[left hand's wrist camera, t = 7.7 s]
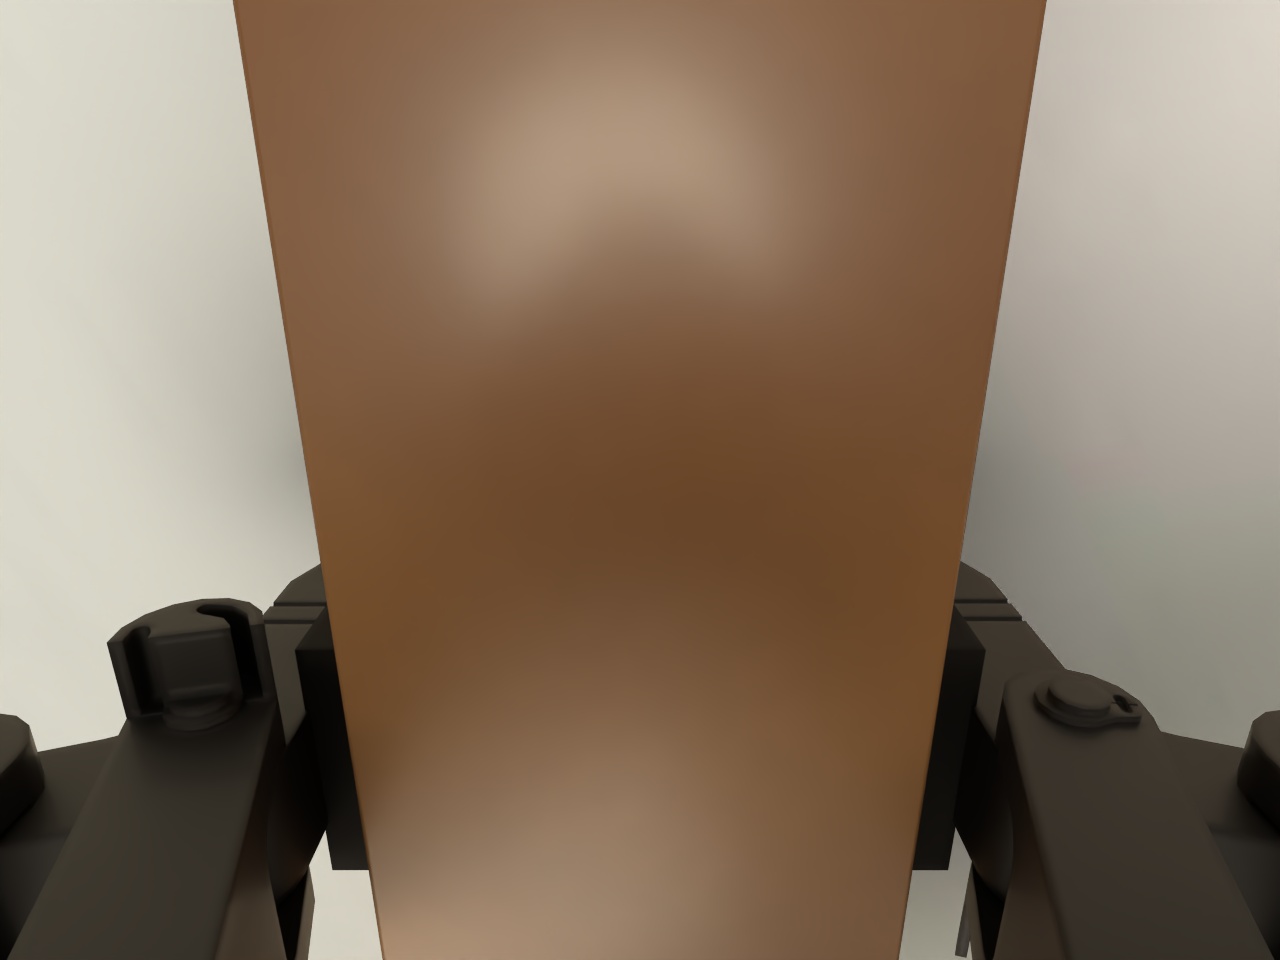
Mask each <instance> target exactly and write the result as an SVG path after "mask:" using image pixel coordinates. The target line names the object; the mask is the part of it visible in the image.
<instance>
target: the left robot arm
mask: <svg viewBox="0 0 1280 960" xmlns="http://www.w3.org/2000/svg"><path fill="white" fill-rule="evenodd" d="M107 646H108V649H109V653H110V657H111V661H112V665H113V668H114V672H115V676H116V680H117V683H118V687H119V691H120V695H121V699H122V702H123V706H124V710H125V714H126V717H127V719H126V721H125V723H124V725H123V727H122V729H121V731H120V733H119V735H118V736H115V737H111V738H107V739H102V740H97V741H92V742H87V743H82V744H77V745H72V746H66V747H61V748H56V749H51V750H46V751H41V752H37V749H36V746H35V742H34V739H33V736H32V733H31V730H30V727H29V725H28V724H27V723H25V722H24V721H23V720H21V719H20V718H19V717H17V716H14V715H6V714H0V960H308V953H309V945H310V937H311V929H312V920H313V912H314V904H315V898H314V891H313V885H312V879H311V874H310V868H309V864H310V862H311V860H312V858H313V855H314V853H315V851H316V849H317V847H318V845H319V843H320V840H321V838H322V836H323V834H324V832H325V830H326V835H327V841H328V847H329V853H330V858H331V864H332V870H369V868H368V862H367V855H366V849H365V843H364V836H363V830H362V823H361V817H360V811H359V804H358V798H357V791H356V785H355V779H354V772H353V766H352V759H351V753H350V747H349V740H348V734H347V727H346V721H345V715H344V708H343V702H342V695H341V689H340V683H339V676H338V670H337V663H336V657H335V651H334V644H333V638H332V631H331V625H330V619H329V612H328V606H327V600H326V593H325V587H324V580H323V574H322V568H321V564H319V565H317V566H316V567H314V568H312V569H311V570H309V571H307V572H306V573H304V574H302V575H301V576H299V577H297V578H296V579H294V580H292V581H291V582H290V583H289V584H288V586H287V587H286V588H285V589H284V590H283V592H282V593H281V594H280V595H279V596H278V598H277V599H276V600H275V601H274V606H270V607H269V609H268V610H267V611H266V612H265V613H264V615H263V614H262V611H261V610H260V609H258V608H257V607H255V606H254V605H253V604H251V603H250V602H245V601H240V600H235V599H230V598H219V599H200V600H194V601H189V602H184V603H179V604H174V605H171V606H168V607H165V608H162V609H159V610H157V611H154V612H151V613H148V614H145V615H143V616H142V617H140V618H138V619H136V620H135V621H133V622H131V623H129V624H127V625H126V626H124V627H122V628H121V629H120V630H119V631H118V632H117V633H116V634H115V635H114V636H113V637H112V638H111V639H110V640H109V641H108V642H107ZM955 827H956V829H957V831H958V833H959V835H960V837H961V839H962V841H963V843H964V846H965V848H966V850H967V852H968V854H969V856H970V858H971V860H972V863H971V868H970V874H969V879H968V884H967V890H966V895H965V901H964V906H963V911H962V917H961V922H960V928H959V933H958V939H957V945H956V952H955V955H956V956H961V957H967V952H968V947H969V942H970V943H971V951H972V959H973V960H1280V710H1278V711H1270V712H1265V713H1264V714H1262V715H1261V716H1260V717H1258V718H1257V719H1255V720H1254V721H1253V723H1252V726H1251V729H1250V732H1249V735H1248V739H1247V742H1246V745H1245V748H1239V747H1234V746H1229V745H1223V744H1218V743H1213V742H1208V741H1203V740H1197V739H1192V738H1187V737H1182V736H1177V735H1173V734H1169V733H1165V732H1161V731H1160V730H1159V728H1158V726H1157V724H1156V722H1155V720H1154V718H1153V717H1152V715H1151V714H1150V713H1149V712H1148V710H1147V709H1146V708H1145V707H1144V706H1143V704H1142V703H1141V702H1140V701H1139V700H1137V699H1136V698H1134V697H1133V696H1131V695H1130V694H1128V693H1127V692H1125V691H1124V690H1123V689H1121V688H1120V687H1118V686H1116V685H1113V684H1111V683H1109V682H1106V681H1104V680H1101V679H1099V678H1097V677H1094V676H1092V675H1088V674H1084V673H1079V672H1075V671H1070V670H1066V669H1065V668H1064V667H1063V666H1062V664H1061V663H1060V662H1059V661H1058V660H1057V658H1056V657H1055V656H1054V655H1053V654H1052V652H1051V651H1050V650H1049V649H1048V648H1047V646H1046V645H1045V644H1044V643H1043V642H1042V640H1041V639H1040V638H1039V637H1038V636H1037V634H1036V633H1035V632H1034V631H1033V630H1032V628H1031V627H1030V626H1029V625H1028V624H1027V622H1026V621H1022V616H1021V615H1020V614H1019V613H1018V612H1017V610H1016V609H1015V608H1014V607H1013V606H1012V604H1008V602H1007V598H1006V597H1005V596H1004V595H1003V594H1002V592H1001V591H1000V590H999V589H998V587H997V586H996V585H995V584H994V583H993V581H992V580H991V579H990V578H988V577H987V576H985V575H983V574H981V573H980V572H978V571H976V570H975V569H973V568H971V567H970V566H968V565H966V564H965V563H963V562H961V561H960V565H959V571H958V577H957V584H956V590H955V597H954V603H953V610H952V616H951V623H950V629H949V636H948V642H947V649H946V655H945V662H944V668H943V675H942V681H941V688H940V694H939V701H938V707H937V714H936V720H935V726H934V733H933V739H932V746H931V752H930V759H929V765H928V772H927V778H926V785H925V791H924V798H923V804H922V811H921V817H920V824H919V830H918V837H917V843H916V850H915V856H914V863H913V869H912V870H948V867H949V862H950V856H951V850H952V844H953V838H954V833H955Z"/></svg>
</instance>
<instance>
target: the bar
mask: <svg viewBox="0 0 1280 960" xmlns="http://www.w3.org/2000/svg"><path fill="white" fill-rule="evenodd" d="M1046 1H1047V0H233V5H234V11H235V17H236V24H237V30H238V37H239V43H240V49H241V56H242V62H243V69H244V75H245V81H246V88H247V94H248V101H249V107H250V113H251V120H252V126H253V132H254V139H255V145H256V152H257V158H258V164H259V171H260V177H261V184H262V190H263V196H264V203H265V209H266V216H267V222H268V228H269V235H270V241H271V248H272V254H273V260H274V267H275V273H276V280H277V286H278V292H279V299H280V305H281V312H282V318H283V324H284V331H285V337H286V344H287V350H288V356H289V363H290V369H291V376H292V382H293V388H294V395H295V401H296V408H297V414H298V420H299V427H300V433H301V440H302V446H303V452H304V459H305V465H306V472H307V478H308V484H309V491H310V497H311V504H312V510H313V516H314V523H315V529H316V536H317V542H318V548H319V555H320V561H321V568H322V574H323V580H324V587H325V593H326V600H327V606H328V612H329V619H330V625H331V631H332V638H333V644H334V651H335V657H336V663H337V670H338V676H339V683H340V689H341V695H342V702H343V708H344V715H345V721H346V727H347V734H348V740H349V747H350V753H351V759H352V766H353V772H354V779H355V785H356V791H357V798H358V804H359V811H360V817H361V823H362V830H363V836H364V843H365V849H366V855H367V862H368V868H369V875H370V881H371V887H372V894H373V900H374V907H375V913H376V919H377V926H378V932H379V939H380V945H381V951H382V958H383V960H899V953H900V947H901V940H902V934H903V927H904V921H905V914H906V908H907V901H908V895H909V888H910V882H911V876H912V869H913V863H914V856H915V850H916V843H917V837H918V830H919V824H920V817H921V811H922V804H923V798H924V791H925V785H926V778H927V772H928V765H929V759H930V752H931V746H932V739H933V733H934V726H935V720H936V714H937V707H938V701H939V694H940V688H941V681H942V675H943V668H944V662H945V655H946V649H947V642H948V636H949V629H950V623H951V616H952V610H953V603H954V597H955V590H956V584H957V577H958V571H959V565H960V558H961V552H962V545H963V539H964V532H965V526H966V519H967V513H968V506H969V500H970V493H971V487H972V480H973V474H974V467H975V461H976V454H977V448H978V441H979V435H980V428H981V422H982V415H983V409H984V403H985V396H986V390H987V383H988V377H989V370H990V364H991V357H992V351H993V344H994V338H995V331H996V325H997V318H998V312H999V305H1000V299H1001V292H1002V286H1003V279H1004V273H1005V266H1006V260H1007V254H1008V247H1009V241H1010V234H1011V228H1012V221H1013V215H1014V208H1015V202H1016V195H1017V189H1018V182H1019V176H1020V169H1021V163H1022V156H1023V150H1024V143H1025V137H1026V130H1027V124H1028V117H1029V111H1030V104H1031V98H1032V92H1033V85H1034V79H1035V72H1036V66H1037V59H1038V53H1039V46H1040V40H1041V33H1042V27H1043V20H1044V14H1045V7H1046Z"/></svg>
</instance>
